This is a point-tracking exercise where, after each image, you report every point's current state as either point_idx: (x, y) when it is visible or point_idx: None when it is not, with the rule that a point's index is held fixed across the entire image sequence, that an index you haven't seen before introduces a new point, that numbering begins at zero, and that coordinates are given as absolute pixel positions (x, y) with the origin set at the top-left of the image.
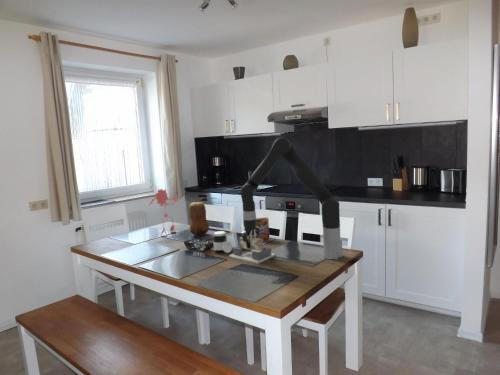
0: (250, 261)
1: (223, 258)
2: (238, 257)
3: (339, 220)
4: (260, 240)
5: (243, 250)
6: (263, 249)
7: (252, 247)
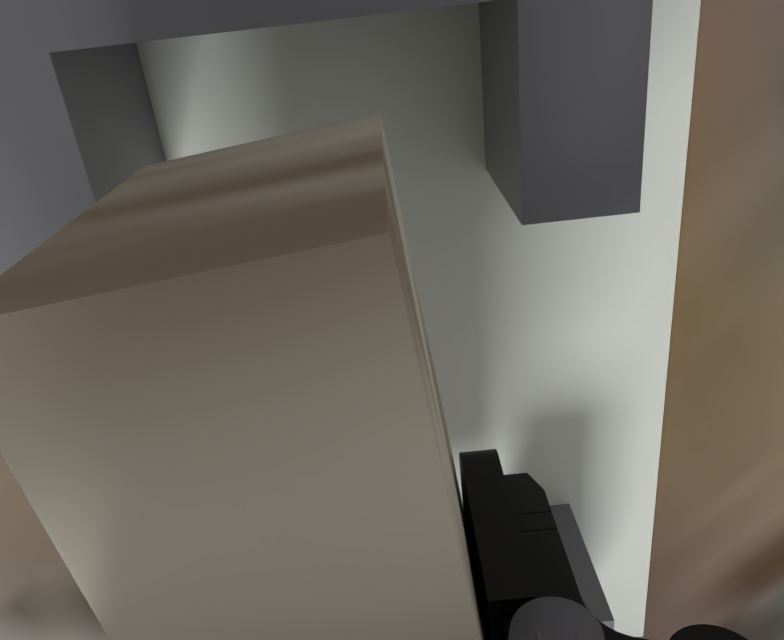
0: (680, 106)
1: (732, 622)
2: (656, 452)
3: None
4: (206, 259)
5: None
6: None
7: (439, 404)
